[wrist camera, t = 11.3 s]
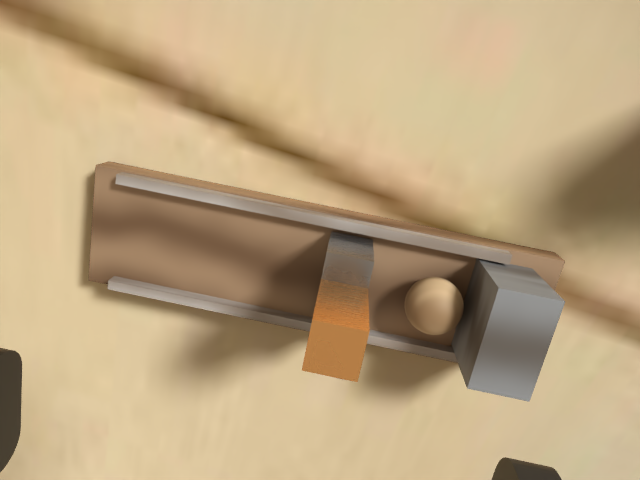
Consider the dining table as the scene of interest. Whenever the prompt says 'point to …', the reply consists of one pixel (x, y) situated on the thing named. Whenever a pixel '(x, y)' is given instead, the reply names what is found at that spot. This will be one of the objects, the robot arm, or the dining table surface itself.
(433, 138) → the dining table surface
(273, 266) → the base
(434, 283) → the smooth beige ball
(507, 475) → the robot arm
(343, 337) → the sliding jaw
